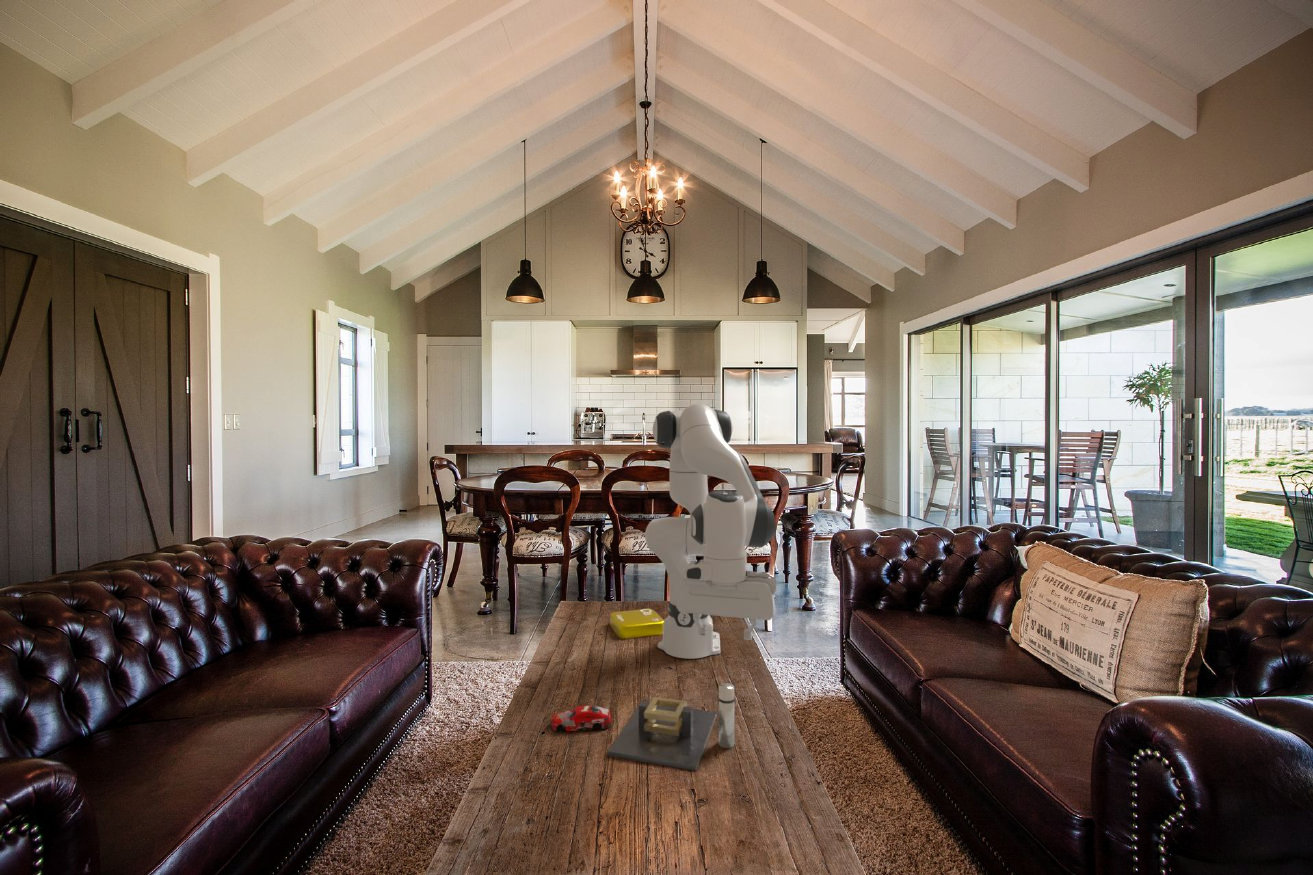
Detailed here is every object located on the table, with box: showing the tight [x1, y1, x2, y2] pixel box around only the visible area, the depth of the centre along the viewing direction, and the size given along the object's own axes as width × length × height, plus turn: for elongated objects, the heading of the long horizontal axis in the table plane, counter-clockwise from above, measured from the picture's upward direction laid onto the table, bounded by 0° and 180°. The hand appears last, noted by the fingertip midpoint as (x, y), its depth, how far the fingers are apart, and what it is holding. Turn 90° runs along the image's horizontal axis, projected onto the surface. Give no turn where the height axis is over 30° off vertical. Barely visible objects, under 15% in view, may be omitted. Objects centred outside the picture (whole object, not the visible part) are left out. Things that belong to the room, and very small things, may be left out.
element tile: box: [610, 608, 665, 639], centre depth 192 cm, size 15×15×5 cm
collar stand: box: [607, 696, 718, 772], centre depth 125 cm, size 22×18×6 cm
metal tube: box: [717, 682, 736, 749], centre depth 122 cm, size 3×3×12 cm
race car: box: [550, 705, 612, 733], centre depth 129 cm, size 13×5×4 cm, turn 94°
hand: (725, 636), depth 122 cm, fingers open, 8 cm apart
